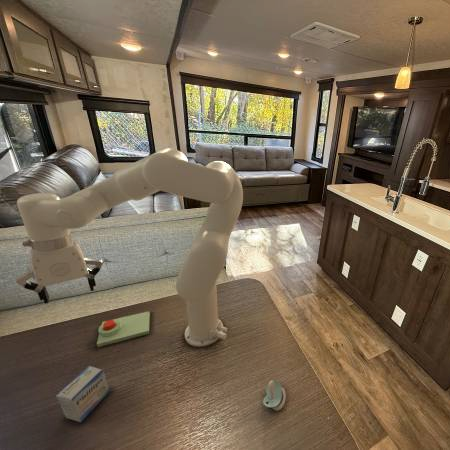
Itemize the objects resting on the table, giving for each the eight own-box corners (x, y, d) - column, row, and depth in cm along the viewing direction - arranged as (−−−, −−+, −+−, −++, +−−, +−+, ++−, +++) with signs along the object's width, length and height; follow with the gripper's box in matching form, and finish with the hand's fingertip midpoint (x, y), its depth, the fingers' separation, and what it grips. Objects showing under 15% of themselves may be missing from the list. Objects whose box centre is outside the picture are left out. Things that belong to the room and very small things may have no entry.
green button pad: (149, 314, 92) (148, 307, 91) (149, 333, 84) (147, 327, 83) (103, 324, 86) (101, 318, 84) (97, 347, 78) (95, 340, 76)
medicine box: (80, 423, 59) (70, 400, 56) (65, 418, 60) (54, 395, 56) (110, 391, 66) (103, 369, 63) (96, 386, 67) (88, 364, 64)
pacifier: (287, 387, 71) (267, 384, 72) (289, 373, 69) (268, 369, 69) (283, 415, 65) (261, 411, 65) (285, 400, 62) (262, 396, 63)
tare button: (116, 322, 84) (115, 318, 83) (114, 329, 81) (113, 325, 81) (105, 325, 82) (104, 321, 82) (103, 331, 80) (102, 327, 79)
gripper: (-1, 256, 56) (25, 314, 63) (96, 239, 67) (109, 290, 73) (5, 243, 61) (28, 298, 68) (94, 229, 72) (106, 278, 78)
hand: (70, 294), depth 71 cm, fingers open, 9 cm apart
